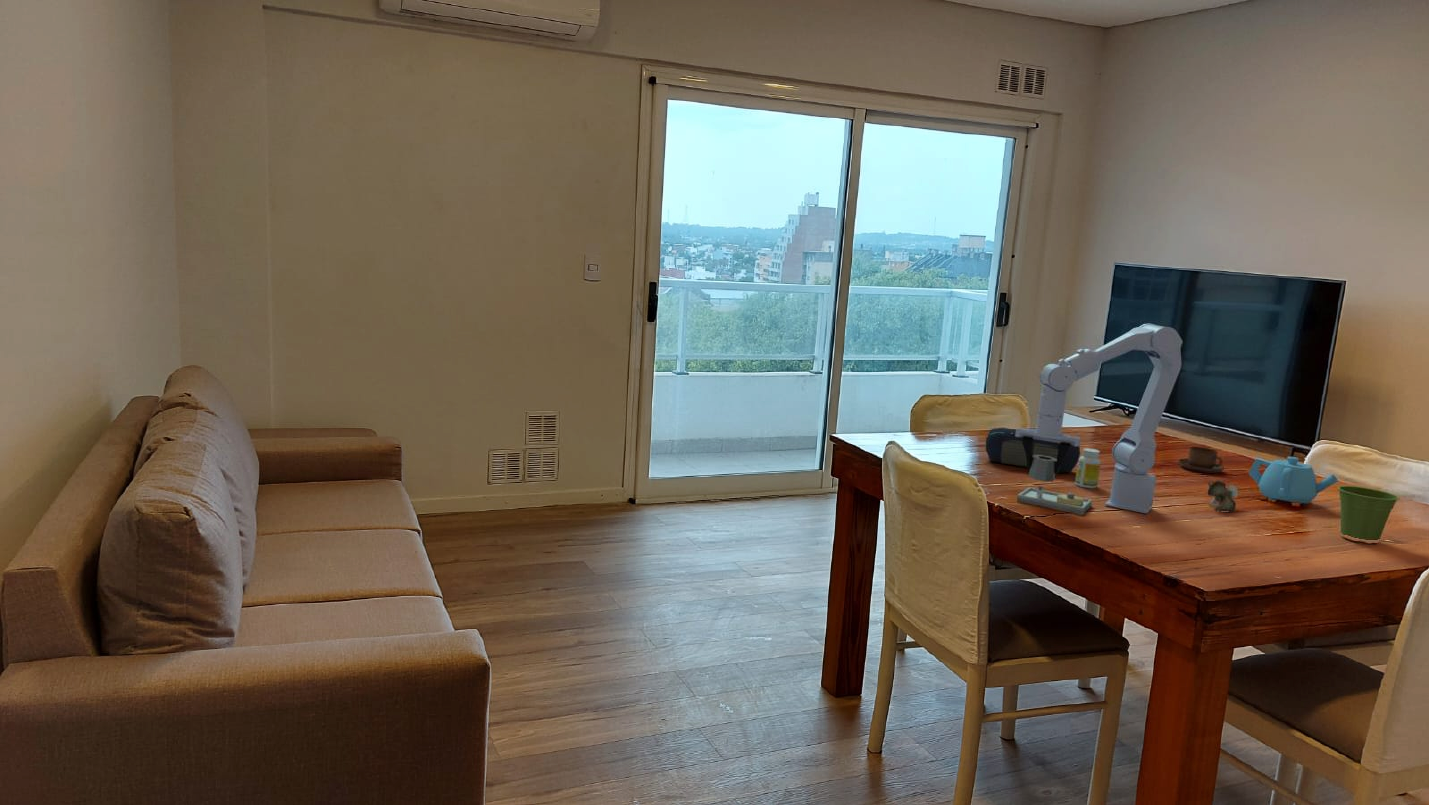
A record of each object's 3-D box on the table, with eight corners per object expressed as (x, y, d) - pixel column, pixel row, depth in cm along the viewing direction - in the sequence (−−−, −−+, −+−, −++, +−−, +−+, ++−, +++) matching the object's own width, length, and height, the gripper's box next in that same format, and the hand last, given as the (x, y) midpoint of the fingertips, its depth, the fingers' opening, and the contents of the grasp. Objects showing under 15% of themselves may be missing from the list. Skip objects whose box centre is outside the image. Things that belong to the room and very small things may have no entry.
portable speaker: (980, 463, 271) (985, 428, 269) (985, 456, 280) (989, 422, 278) (1076, 478, 262) (1081, 442, 260) (1077, 471, 271) (1082, 436, 269)
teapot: (1239, 498, 252) (1246, 454, 250) (1250, 488, 265) (1258, 446, 263) (1328, 517, 240) (1337, 470, 238) (1336, 505, 253) (1345, 461, 251)
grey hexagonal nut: (1055, 478, 234) (1058, 458, 233) (1051, 482, 229) (1055, 462, 228) (1031, 473, 237) (1034, 453, 236) (1027, 477, 232) (1031, 457, 231)
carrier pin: (1042, 501, 234) (1044, 487, 234) (1040, 502, 233) (1042, 488, 232) (1036, 499, 235) (1038, 485, 234) (1035, 501, 234) (1036, 487, 233)
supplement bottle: (1070, 484, 254) (1076, 448, 252) (1081, 482, 257) (1087, 446, 255) (1090, 489, 250) (1095, 453, 248) (1100, 487, 253) (1106, 451, 251)
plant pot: (1395, 542, 222) (1405, 494, 220) (1383, 551, 213) (1393, 502, 211) (1336, 528, 230) (1345, 482, 228) (1322, 537, 222) (1331, 489, 220)
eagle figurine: (1195, 495, 248) (1198, 496, 239) (1217, 472, 246) (1221, 473, 237) (1222, 517, 245) (1226, 519, 236) (1244, 495, 243) (1249, 496, 234)
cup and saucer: (1227, 472, 285) (1231, 451, 284) (1216, 477, 276) (1220, 456, 275) (1184, 463, 293) (1188, 443, 292) (1172, 468, 284) (1175, 447, 283)
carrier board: (1091, 506, 233) (1093, 493, 232) (1082, 514, 224) (1084, 501, 224) (1027, 493, 241) (1029, 480, 240) (1016, 501, 232) (1018, 488, 232)
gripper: (1084, 417, 231) (1076, 472, 233) (1022, 408, 237) (1014, 462, 239) (1081, 421, 224) (1073, 478, 227) (1017, 411, 231) (1009, 467, 233)
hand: (1042, 470), depth 233 cm, fingers closed on grey hexagonal nut, 6 cm apart
